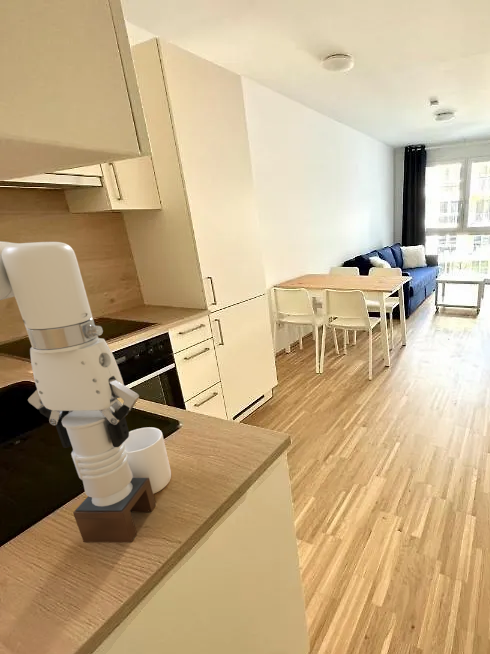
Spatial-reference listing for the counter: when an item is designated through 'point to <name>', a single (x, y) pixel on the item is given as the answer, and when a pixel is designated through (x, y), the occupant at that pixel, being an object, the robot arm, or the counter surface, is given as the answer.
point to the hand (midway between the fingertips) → (97, 441)
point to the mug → (148, 457)
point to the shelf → (114, 515)
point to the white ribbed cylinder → (98, 457)
